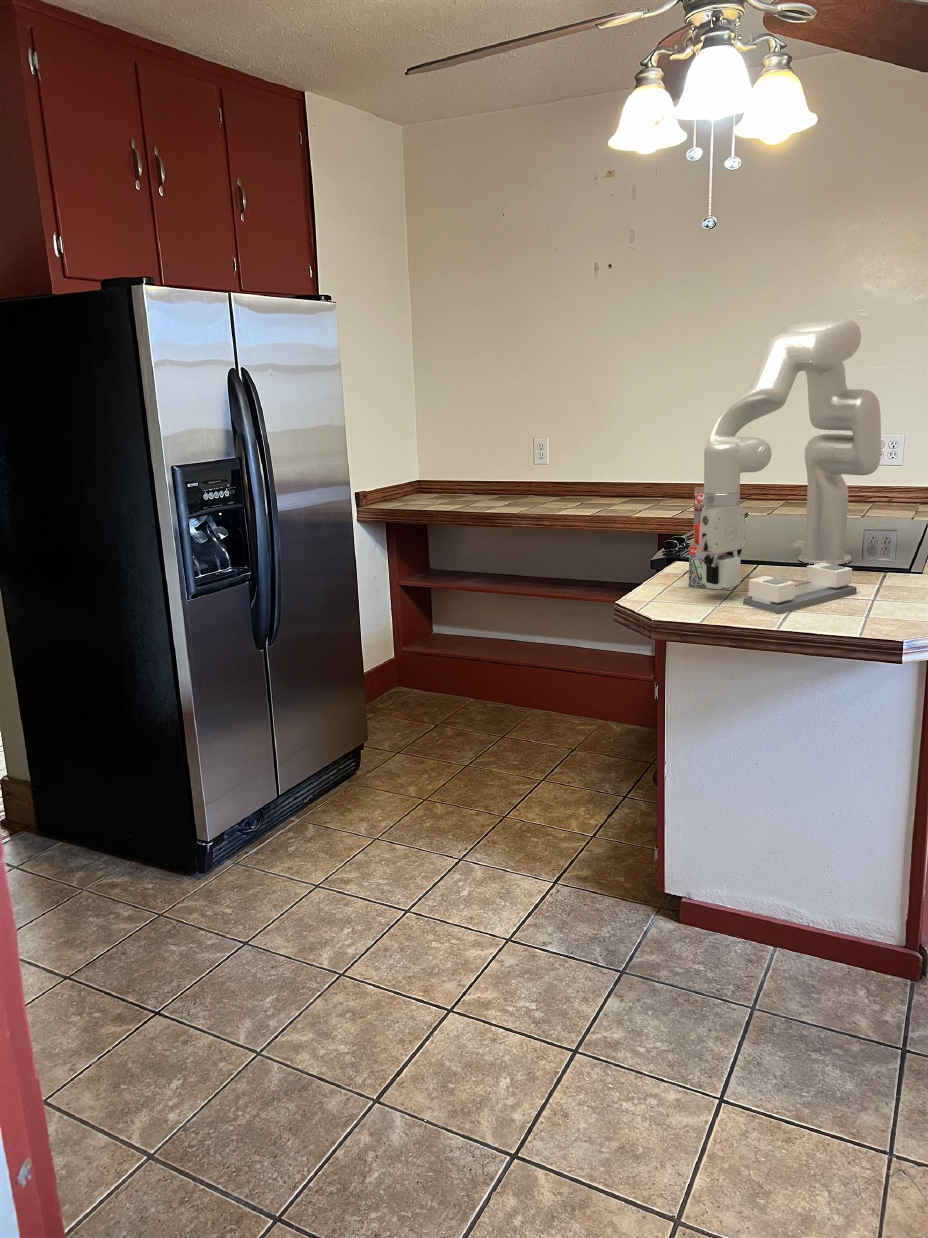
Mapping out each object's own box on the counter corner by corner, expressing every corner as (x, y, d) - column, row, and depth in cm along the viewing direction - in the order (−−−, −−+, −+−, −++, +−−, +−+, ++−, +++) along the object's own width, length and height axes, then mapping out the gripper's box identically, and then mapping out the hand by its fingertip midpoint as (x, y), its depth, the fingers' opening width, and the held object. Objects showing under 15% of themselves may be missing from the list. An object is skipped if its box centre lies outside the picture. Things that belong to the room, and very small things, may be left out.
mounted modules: (748, 595, 198) (749, 578, 197) (821, 577, 209) (822, 561, 208) (777, 602, 191) (778, 585, 190) (851, 583, 202) (852, 567, 201)
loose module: (702, 581, 206) (702, 555, 204) (716, 578, 208) (717, 551, 207) (725, 587, 200) (725, 560, 199) (740, 583, 202) (740, 556, 201)
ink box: (721, 590, 211) (722, 527, 207) (687, 587, 216) (688, 526, 212) (726, 586, 214) (727, 524, 210) (693, 583, 219) (694, 523, 215)
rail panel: (743, 604, 199) (743, 594, 199) (818, 585, 210) (819, 576, 210) (779, 613, 191) (779, 604, 190) (856, 593, 202) (856, 584, 201)
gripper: (705, 507, 192) (704, 591, 197) (762, 495, 200) (761, 577, 205) (680, 503, 198) (680, 584, 204) (737, 492, 206) (735, 571, 211)
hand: (721, 580), depth 204 cm, fingers closed on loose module, 4 cm apart
